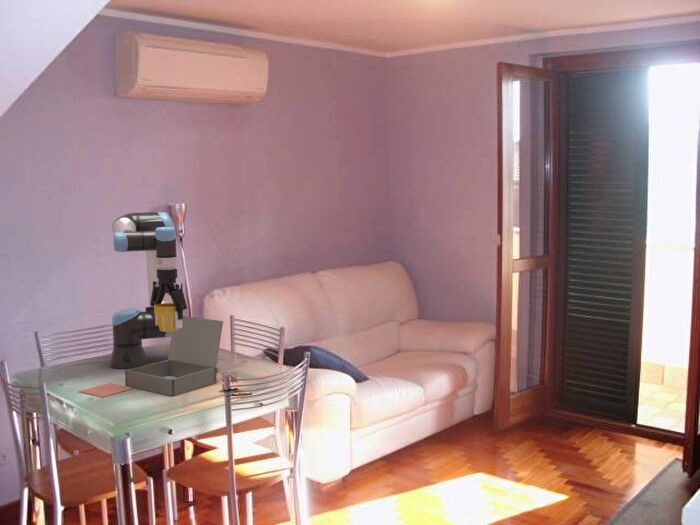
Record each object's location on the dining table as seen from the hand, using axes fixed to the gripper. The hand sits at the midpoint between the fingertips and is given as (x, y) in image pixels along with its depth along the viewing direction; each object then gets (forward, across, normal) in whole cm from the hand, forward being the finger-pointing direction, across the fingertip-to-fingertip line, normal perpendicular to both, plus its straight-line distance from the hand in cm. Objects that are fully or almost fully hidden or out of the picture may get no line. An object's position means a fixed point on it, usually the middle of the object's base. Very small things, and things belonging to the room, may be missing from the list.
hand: (168, 326), depth 296 cm
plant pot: (+2, 0, 0) cm, 2 cm away
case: (+22, 0, 0) cm, 22 cm away
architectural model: (+23, +25, +7) cm, 34 cm away
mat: (+22, -14, -19) cm, 33 cm away
